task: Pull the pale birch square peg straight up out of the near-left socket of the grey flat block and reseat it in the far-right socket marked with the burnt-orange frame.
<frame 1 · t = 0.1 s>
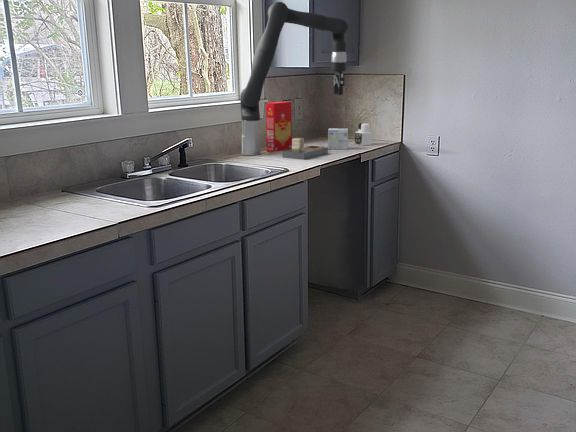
hand: (338, 94, 298), 29 cm above the countertop, fingers open, 8 cm apart
food packaging: (279, 150, 310), on the countertop
light bulb box: (337, 149, 316), on the countertop
peg: (297, 157, 282), point 1 cm above the countertop, touching grey flat block
grey flat block: (305, 157, 288), on the countertop
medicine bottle: (363, 145, 330), on the countertop
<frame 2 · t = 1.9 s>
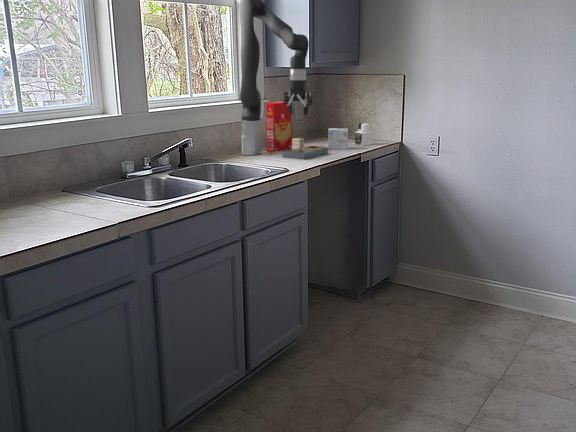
hand: (298, 114, 277), 21 cm above the countertop, fingers open, 8 cm apart
nothing on the countertop moved.
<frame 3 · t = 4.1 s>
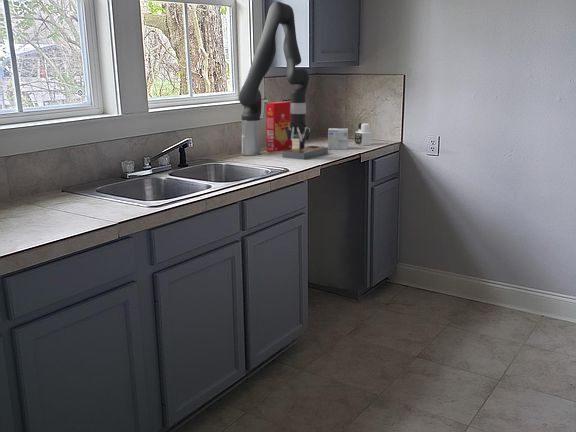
hand: (297, 148, 281), 5 cm above the countertop, fingers closed on peg, 4 cm apart
peg: (297, 157, 282), point 1 cm above the countertop, touching gripper, grey flat block
everything else where it was.
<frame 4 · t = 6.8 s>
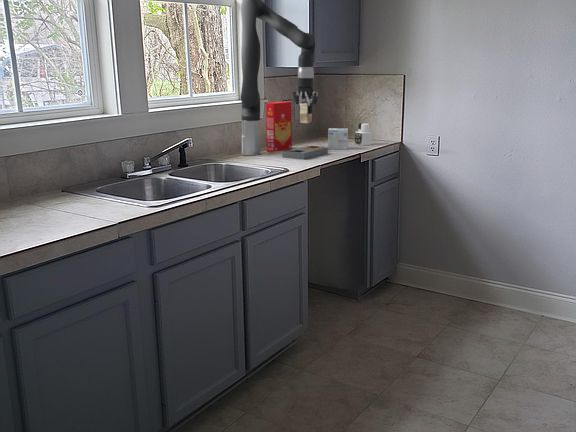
hand: (305, 113, 282), 21 cm above the countertop, fingers closed on peg, 4 cm apart
peg: (305, 122, 283), point 17 cm above the countertop, touching gripper
everything else where it was.
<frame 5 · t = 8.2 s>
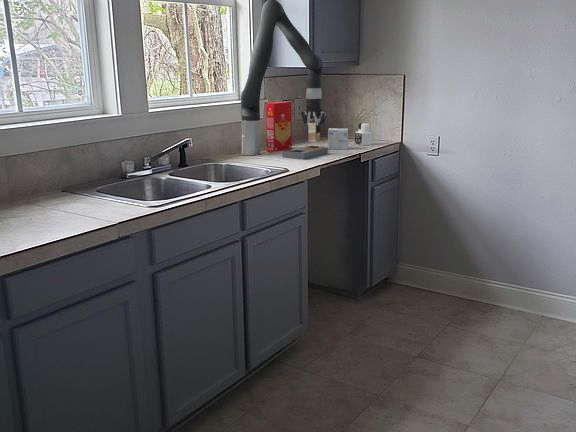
hand: (313, 132, 291), 11 cm above the countertop, fingers closed on peg, 4 cm apart
peg: (314, 141, 292), point 7 cm above the countertop, touching gripper
everything else where it was.
when the fingers open (6 cm above the countertop, at t = 9.6 s): peg stays where it is, resting on grey flat block.
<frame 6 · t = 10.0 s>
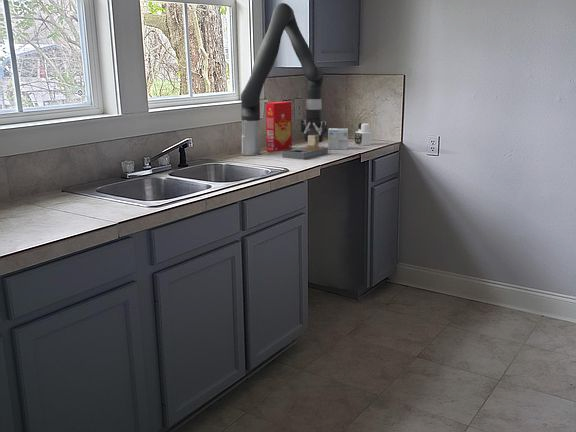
hand: (313, 141, 292), 7 cm above the countertop, fingers open, 7 cm apart
peg: (313, 153, 293), point 1 cm above the countertop, touching grey flat block
everything else where it was.
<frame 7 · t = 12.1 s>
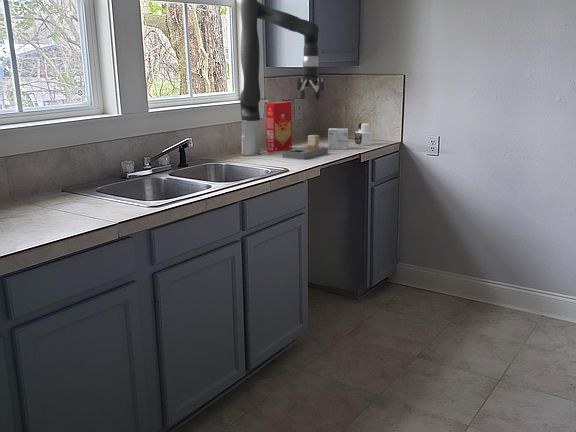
hand: (309, 99, 291), 27 cm above the countertop, fingers open, 8 cm apart
nothing on the countertop moved.
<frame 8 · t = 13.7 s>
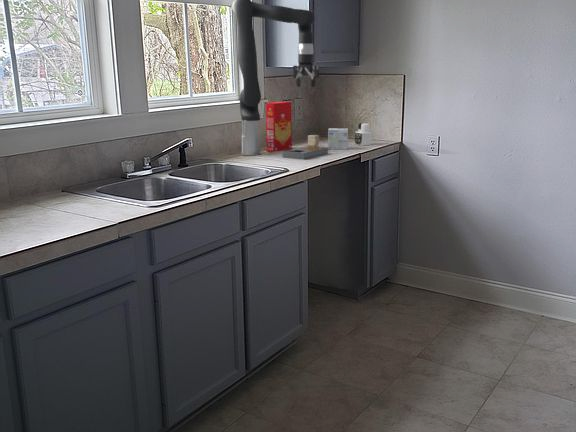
hand: (305, 86, 294), 33 cm above the countertop, fingers open, 8 cm apart
nothing on the countertop moved.
at the end: peg 0.2 cm from the target spot on the grey flat block, point 1.0 cm above the grey flat block's base; peg tilted 0°; the gripper is holding nothing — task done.
